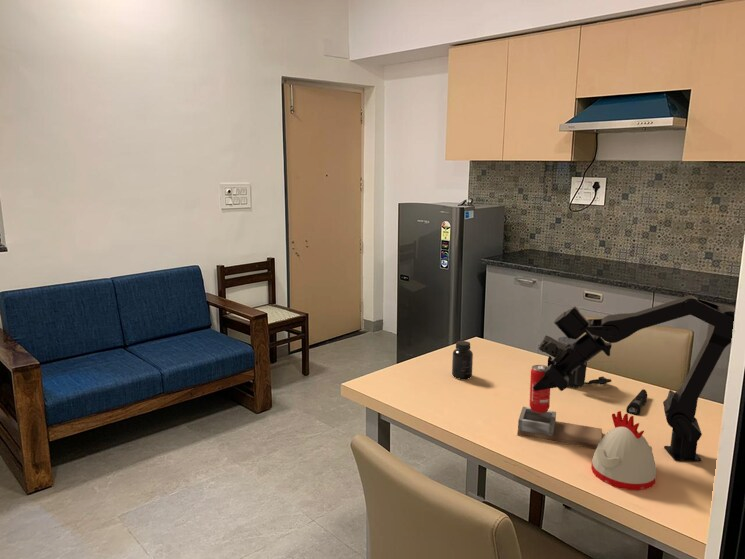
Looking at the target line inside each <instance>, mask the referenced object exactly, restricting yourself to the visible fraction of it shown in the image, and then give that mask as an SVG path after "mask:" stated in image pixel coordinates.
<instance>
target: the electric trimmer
mask: <svg viewBox="0 0 745 559" xmlns="http://www.w3.org/2000/svg"><path fill="white" fill-rule="evenodd" d="M647 400H648V392H647V390H646V389H644V388H643V389H641V390H640V391H639V392H638V393H637V395H636V396H635V397H634V398H633V399H632V400H631V401H630V402H629V404H628V405H627V406H626V411H625V412H626V414H627V413H628V415H632V416H640V414H641V410H642V406H645V405H646V403H647Z"/></svg>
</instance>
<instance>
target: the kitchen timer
mask: <svg viewBox="0 0 745 559" xmlns="http://www.w3.org/2000/svg"><path fill="white" fill-rule="evenodd" d="M611 419H612V421H613V425H614V428H612V429H610V430H609V431H608V432H606V433H605V435H604V436H602V439H601V441H600V442H599V444H598V446H597V448H596V449H595V451H594V454H593V457H592V460H591V471H592V473H593V474H594V476H595V477H596V478H597V479H599V480H600V481H601V482H604V483H605V484H607V485H609V486H611V487H615V488H618V489H621V490H622V489H623V490H627V491H643V490H644V491H645V490H649V489H650V488H652V487H653V486H654V485H655V484H656V478H657V467H656V466H657V465H656V460H655V457H654V453H653V448H652V446H651V445H649V443H648V441H647V440H646V438H645V436H643V434H644V433H645V430H641V431H638V429H639V426H640V422H637V423H636V424H635V423H634V422H635V420H634V415H631V416H629V413H627V412H626V413H625V414H624V415H623V416H622V412H621V410H619V411H617V413H611Z"/></svg>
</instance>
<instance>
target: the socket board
mask: <svg viewBox="0 0 745 559" xmlns="http://www.w3.org/2000/svg"><path fill="white" fill-rule="evenodd" d="M556 418H557V411H553V410H548V411H547V412H546V413H536V412H533V411H532V410H531V407H530V406H529V407H528V406H523V407H522V409H521V411H520V414H519V418H518V420H517V421H518V424H517V436H520V435H521V437H527V438H533V439H538V440H544V441H549V442H554V443H561V444H565V445H571V446H572V445H573V446H578V447H584V448H589V449H595V450H596V448H597V446H598V444H599V442H600V441H601V439H602V438H603V436H602V435H603V428H600V427H594V426H587V425H581V424H577V423H576V424H575V423H570V422H565V421H557V420H556Z"/></svg>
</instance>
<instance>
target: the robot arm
mask: <svg viewBox="0 0 745 559" xmlns="http://www.w3.org/2000/svg"><path fill="white" fill-rule="evenodd" d="M735 309H736V308H735V307H733V306H731V305H726V304H725V305H718V304H716V303H713V302H711V301H708V300H704V299H700V298H699V297H697V296H694V295H692V294H691V295H690V294H688V295H685V296H683V297H681V298H677V299H674V300H672V301H668V302H665V303H662V304H658V305H655V306H653V307H649V308H646V309H643V310H639V311H636V312H631V313H629V312H628V313H627V312H626V313H615V314H609V315H606V316H604V317H603V318H590V319H587V318H586V317H585V315H583V314H582V313H581V312H580V309H579V308H577V306H576V305H575V306H573V307H572V308H570V309H568V310H566V311H564V312H562V313H561V314H560V315H559V316H558V317H557V318H556V319H555V320H554V321H553V324H554V325H555V326H556V328H558V329H559V330H560V331H561V332H562V333H563V334H564V336H565V337H568V338H569V339H570V338H572V339H577V338H579V339H578V340H577V341H575V342H574V343H573V344H571V343H570V344H569V343H568V344H567V345H566V346H565V345H563V344H561V343H560V342H559V341H558V339H554V338H553V337H551V336H549V335H545V336H544V338H543V339H542V341H541V342H540V345H539V347H538V350H539V351H540V352H543V353H545V354H547V355H549V356H548V358H547V365H546V366H548V367H545V371H544V372H545V375H544V376H543V377H542V378H541V379H540V380H539V381H538V382H537V383H536V384H535V386H534V387H533V389H534V390H535V391H538V390H544V389H550V390H551V389H557V388H558V390H559V391H561V392H562V391H564V390H566V389H567V388H569V387H568V381H569V377H570V376H571V375H573V372H574V371H575V370H576V369H578V368H579V367H580V366H581V367H584V366H585V364H586V362H587V363H588V362H589V361H590V360H591V359H593V358H594V357H595V356H597V355H598V354H600V353H601V352H603V353H604V354H605V355H606V356H607V357H610V356H611V349H612V348H613V347H612V344H614V343H619V342H620V341H623V340H625V339H627V338H629V337H630V336H632V335H633V334H635V333H636V332H639V331H641V330H643V329H646V328H651V327H653V326H657V325H660V324H664V323H667V322H670V321H674V320H677V319H680V318H684V317H687V316H692V317H695V318H697V319H699V320H701V321H702V322H704V323H707V324H708V326H707V332H706V338H705V340H704V342H703V344H702V346H701V348H700V350H699V352H698V353H697V355H696V357H695V359H694V361H693V364H692V366H691V367H690V369H689V371H688V373H687V376H686V378H685V379H684V381H683V383H682V385H681V386H680V388H679V389H678V390H676V391H674V390H671V389H669V391H668V394H667V397H666V399H665V400H663V401H662V404H663V410H664V415H665V420H666V422H667V425H668V426H670V428H672V429H671V438H670V445H664V446H663V449H664V450H665V451H666V452H667V453H668V454H669V455H670V456H671V458H672V459H673V460H674V461H684V462H686V461H687V462H702V458H701V457H700V455H698V453H697V448H698V441H699V440H700V439H701V437H702V435H703V433H702V431H701V427H700V425H699V421H698V419H697V418H696V417H695V416H696V413H697V406H698V400H699V398H700V395H701V394H702V392H703V390H704V388H705V386H706V384H707V382H708V380H709V379H710V376H711V375H712V373H713V371H714V369H715V368H716V365H717V363H718V361H719V359H720V358H721V356H722V354H723V352H724V351H725V349H726V348H727V347H729V345H730V344H732V343H731V338H732V329H733V321H734V312H735ZM565 373H567V374H568V376H569V377H568V376H567V375H566V374H565Z"/></svg>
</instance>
